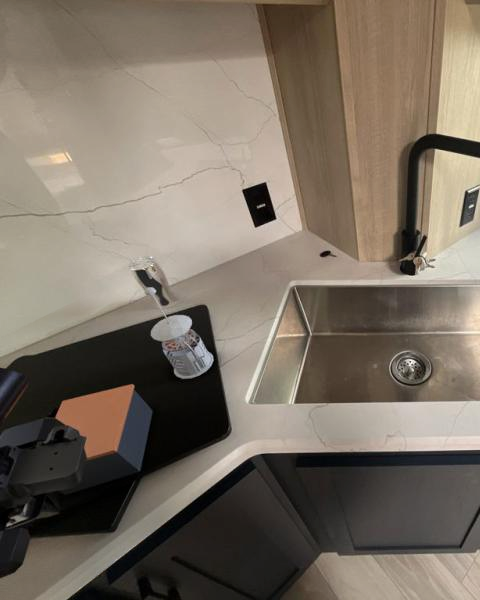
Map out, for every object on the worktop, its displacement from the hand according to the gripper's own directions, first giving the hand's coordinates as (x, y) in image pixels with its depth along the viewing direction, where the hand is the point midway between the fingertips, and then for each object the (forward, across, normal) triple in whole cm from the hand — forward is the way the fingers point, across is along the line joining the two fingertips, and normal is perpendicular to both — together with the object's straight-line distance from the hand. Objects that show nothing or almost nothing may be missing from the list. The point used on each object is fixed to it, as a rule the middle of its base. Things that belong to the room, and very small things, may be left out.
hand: (55, 511), depth 46 cm
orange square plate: (+5, +17, +2) cm, 18 cm away
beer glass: (+16, +62, -4) cm, 64 cm away
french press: (+15, +33, -13) cm, 38 cm away
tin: (+14, +16, +2) cm, 21 cm away
